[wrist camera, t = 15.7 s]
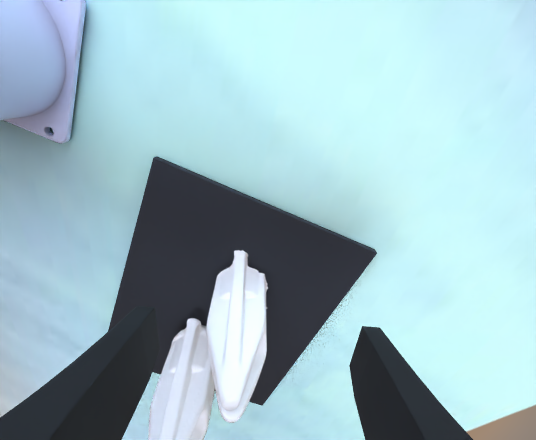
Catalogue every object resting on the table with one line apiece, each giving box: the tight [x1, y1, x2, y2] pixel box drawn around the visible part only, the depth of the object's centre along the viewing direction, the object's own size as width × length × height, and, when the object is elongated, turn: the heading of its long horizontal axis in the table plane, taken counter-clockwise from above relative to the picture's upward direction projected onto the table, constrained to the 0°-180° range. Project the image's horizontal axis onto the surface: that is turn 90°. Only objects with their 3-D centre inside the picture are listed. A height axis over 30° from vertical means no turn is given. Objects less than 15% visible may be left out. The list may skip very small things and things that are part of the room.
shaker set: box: [148, 250, 268, 440], centre depth 18 cm, size 12×4×11 cm, turn 146°
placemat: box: [108, 157, 377, 405], centre depth 23 cm, size 16×20×1 cm
